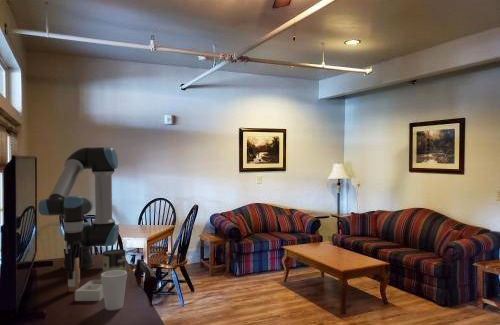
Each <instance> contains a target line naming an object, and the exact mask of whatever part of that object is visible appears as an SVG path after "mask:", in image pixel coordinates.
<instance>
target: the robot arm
mask: <svg viewBox="0 0 500 325" xmlns="http://www.w3.org/2000/svg"><path fill="white" fill-rule="evenodd" d="M118 166H119V158H118V154H117V152H116V150H115V149H114V148H112V147H109V146H108V147H107V146H105V147H82V148H80V149H78V150H77V149H76V150H75V151H74V152H72V154H70V155H69V156H68V157H67V159H65V161H64V165H63V167H64V168H63V170H62V172H61V174H60V176H59V178H58V179H57V181H56V183H55V185H54V187H53V189H52V191H51V192H50V195H49V196H48V197H47V198H43V199H41V200H40V201H39V202H38V205H37V206H38V207H37V211H38V213H39V214H40V215H41V216H49V217H50V216H63V226H64V227H63V228H64V230H63V231H64V234H63V239H64V242H66V248H63V254H64V255H63V256H64V259H63V263H62V268H63V269H64V272H65V273H67V287H68V288H69V287H75V271H74V263H75V258H79V284H80V283H81V270H84V269H88V268H91V267H93V266H94V258H93V255H92V253H91V247H112V246H114V245H115V244H116V243H117V242H118V238H119V231H120V226H119V224H117V223H116V220H115V219H114V218H113V187H112V186H113V185H112V184H113V182H112V181H113V180H112V178H113V177H112V176H113V174H114V173H115V170H116V169H117V168H118ZM84 170H91V173H92V174H93V175H94V196H95V199H94V200H95V201H94V204H95V205H93V202H92V200H91V199H90V198H87V197H83V196H82V195H70V193H71V191H72V189H73V187H74V185H75V183H76V181H77V179H78V178H79V175H80V174H81V173H83V171H84ZM93 207H95V208H94V209H95V210H94V211H95V214H94V215H95V218H94V220H93V222H92V224H90V222H89V221H88V222H87V221H85V222H84V215H87V214H88V213H90V212H91V211H92V210H93Z"/></svg>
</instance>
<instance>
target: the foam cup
mask: <svg viewBox="0 0 500 325" xmlns="http://www.w3.org/2000/svg"><path fill="white" fill-rule="evenodd" d="M100 279H101V282H102V288H103V295H104V298H103V301H104V307H105V310H107V311H116V310H120V309H122V308H123V307H124V303H125V302H124V301H125V293H126V284H127V279H128V272H127V270H126V271H124V270H112V271H107V272H104V273H103V272H102V273H101V274H100Z"/></svg>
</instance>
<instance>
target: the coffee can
mask: <svg viewBox="0 0 500 325" xmlns="http://www.w3.org/2000/svg"><path fill="white" fill-rule="evenodd" d="M126 252H127V251H126V250H125V249H122V248H121V249H119V248H118V249H117V248H116V249H115V248H114V249H108V250H104V251H103V252H102V273H104V272H107V271H112V270H124V271H126V272H127V270H126V269H127V267H126V266H127V265H126V263H127V262H126V260H127V259H126V256H127V255H126Z"/></svg>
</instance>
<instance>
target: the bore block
mask: <svg viewBox="0 0 500 325" xmlns="http://www.w3.org/2000/svg"><path fill="white" fill-rule="evenodd" d="M103 299H104V295H103V288H102V282H101V278H99V279H98V278H97V279H96V278H93V279H90V280H88V281H87V282H86V283H85V284H83V285H82V286H79V289H77V290H76V291H75V292H74V301H75V302H101V300H103Z"/></svg>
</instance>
